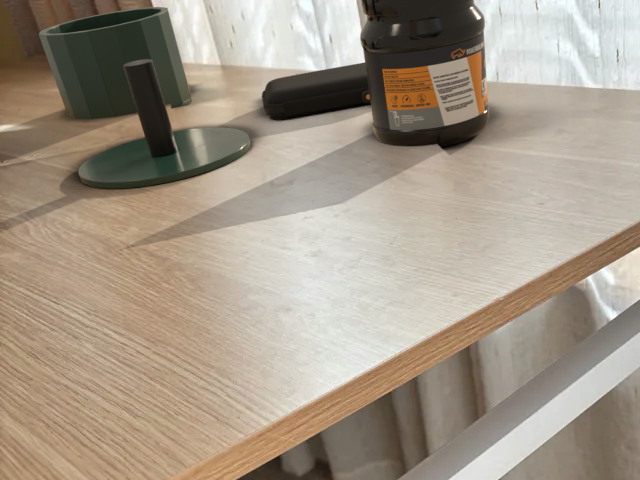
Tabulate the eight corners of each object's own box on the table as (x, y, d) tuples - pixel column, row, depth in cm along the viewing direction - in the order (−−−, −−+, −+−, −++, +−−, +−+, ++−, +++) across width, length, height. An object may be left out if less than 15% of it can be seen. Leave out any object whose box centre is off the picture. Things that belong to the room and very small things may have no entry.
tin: (67, 137, 93) (32, 41, 87) (76, 110, 104) (46, 24, 98) (194, 112, 94) (168, 16, 88) (189, 88, 105) (166, 2, 99)
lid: (76, 208, 70) (34, 98, 65) (88, 161, 83) (53, 64, 77) (260, 171, 72) (234, 59, 67) (244, 130, 84) (222, 33, 79)
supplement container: (475, 150, 68) (464, -21, 61) (359, 156, 72) (334, -6, 64) (501, 115, 76) (494, -41, 68) (394, 121, 79) (376, -27, 71)
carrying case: (268, 132, 82) (410, 106, 83) (261, 99, 80) (406, 72, 81) (264, 109, 91) (394, 85, 91) (258, 78, 89) (390, 54, 89)
